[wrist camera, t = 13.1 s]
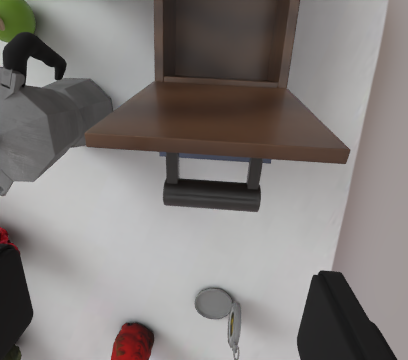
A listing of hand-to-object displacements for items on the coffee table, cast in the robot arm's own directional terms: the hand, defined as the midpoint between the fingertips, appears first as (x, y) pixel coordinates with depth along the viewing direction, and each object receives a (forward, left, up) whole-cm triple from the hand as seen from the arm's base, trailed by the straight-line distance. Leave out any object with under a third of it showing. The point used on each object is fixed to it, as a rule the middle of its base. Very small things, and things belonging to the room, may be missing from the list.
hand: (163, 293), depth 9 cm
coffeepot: (+4, -17, -31) cm, 36 cm away
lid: (-5, 0, -14) cm, 15 cm away
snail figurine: (-3, -27, -31) cm, 41 cm away
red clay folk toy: (+42, +3, -31) cm, 53 cm away
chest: (-12, -3, -31) cm, 34 cm away
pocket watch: (+28, +14, -31) cm, 45 cm away
